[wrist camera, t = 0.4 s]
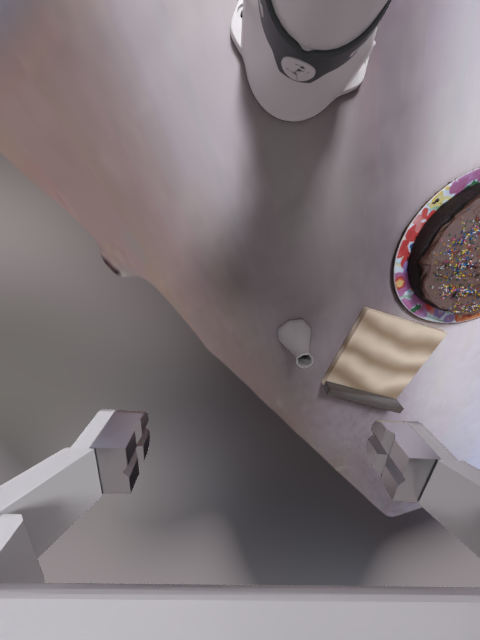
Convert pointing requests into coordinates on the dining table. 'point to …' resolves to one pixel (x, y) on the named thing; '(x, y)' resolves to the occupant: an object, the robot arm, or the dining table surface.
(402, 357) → the shelf board
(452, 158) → the dining table surface
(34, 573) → the robot arm
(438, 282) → the chocolate cake
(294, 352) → the flask
